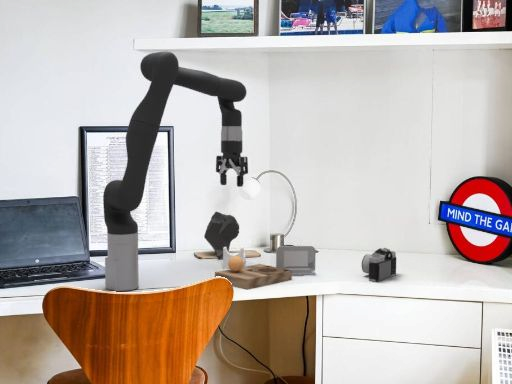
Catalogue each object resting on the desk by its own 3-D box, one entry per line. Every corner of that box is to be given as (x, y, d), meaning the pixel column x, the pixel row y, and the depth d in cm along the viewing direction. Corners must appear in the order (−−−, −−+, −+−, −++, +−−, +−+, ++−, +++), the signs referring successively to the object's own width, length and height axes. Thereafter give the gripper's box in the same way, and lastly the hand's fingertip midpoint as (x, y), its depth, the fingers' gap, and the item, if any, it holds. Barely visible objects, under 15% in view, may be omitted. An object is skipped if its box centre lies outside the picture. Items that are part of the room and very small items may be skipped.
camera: (378, 271, 232) (378, 242, 231) (401, 275, 226) (402, 245, 225) (354, 278, 220) (355, 248, 219) (379, 282, 214) (379, 251, 213)
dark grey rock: (241, 253, 265) (241, 208, 263) (240, 260, 249) (240, 212, 248) (205, 253, 265) (205, 208, 263) (202, 260, 250) (202, 212, 248)
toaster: (312, 270, 233) (312, 242, 232) (315, 276, 224) (315, 246, 223) (274, 270, 233) (274, 242, 232) (276, 276, 223) (276, 246, 223)
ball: (235, 273, 212) (235, 258, 211) (224, 271, 215) (224, 256, 215) (246, 271, 215) (246, 256, 215) (236, 269, 219) (236, 254, 218)
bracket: (243, 269, 235) (243, 248, 234) (223, 269, 235) (223, 248, 234) (245, 262, 248) (245, 242, 247) (226, 262, 248) (226, 242, 247)
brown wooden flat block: (246, 289, 204) (246, 279, 204) (214, 281, 215) (214, 272, 214) (291, 279, 218) (291, 270, 217) (259, 272, 228) (259, 263, 228)
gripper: (210, 139, 236) (210, 185, 238) (237, 139, 226) (237, 187, 228) (226, 139, 242) (226, 184, 243) (253, 139, 231) (253, 186, 233)
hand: (231, 185), depth 235 cm, fingers open, 8 cm apart
